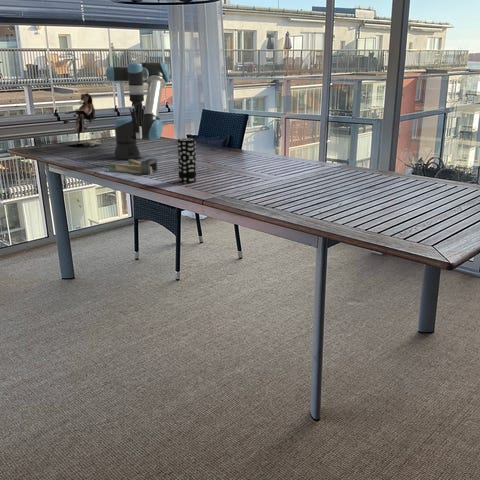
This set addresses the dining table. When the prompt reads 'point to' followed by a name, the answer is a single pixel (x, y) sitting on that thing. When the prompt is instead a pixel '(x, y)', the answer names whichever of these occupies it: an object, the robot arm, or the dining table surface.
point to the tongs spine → (127, 168)
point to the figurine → (86, 113)
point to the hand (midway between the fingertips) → (139, 138)
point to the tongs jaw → (134, 162)
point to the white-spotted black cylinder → (187, 160)
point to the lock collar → (146, 164)
